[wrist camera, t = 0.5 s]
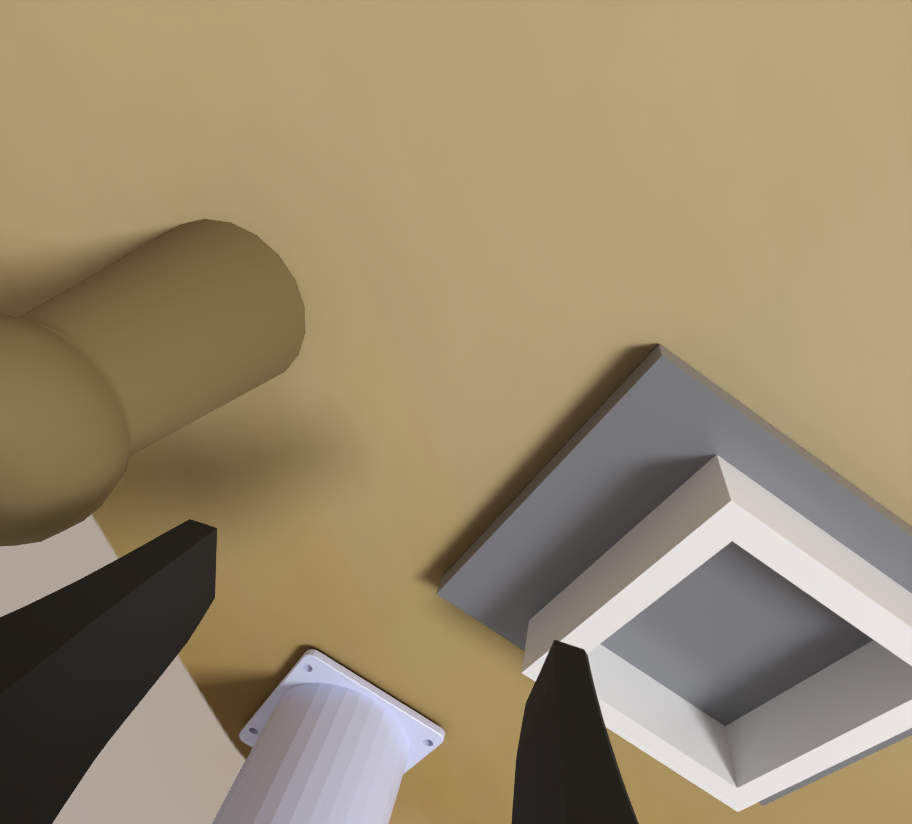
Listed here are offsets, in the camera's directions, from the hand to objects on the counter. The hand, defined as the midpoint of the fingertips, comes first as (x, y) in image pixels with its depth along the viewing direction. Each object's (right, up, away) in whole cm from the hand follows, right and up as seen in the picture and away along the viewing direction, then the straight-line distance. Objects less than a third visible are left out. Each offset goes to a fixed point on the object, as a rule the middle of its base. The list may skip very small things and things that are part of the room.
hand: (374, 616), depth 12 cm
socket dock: (+12, -3, +10) cm, 16 cm away
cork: (-6, +8, +9) cm, 14 cm away
